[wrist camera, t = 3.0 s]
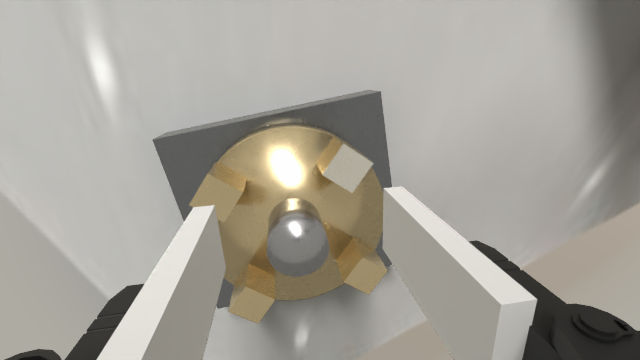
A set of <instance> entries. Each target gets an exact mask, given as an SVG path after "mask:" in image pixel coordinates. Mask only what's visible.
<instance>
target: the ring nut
mask: <svg viewBox="0 0 640 360" xmlns="http://www.w3.org/2000/svg"><path fill="white" fill-rule="evenodd" d="M373 164H374V163H373V162H371V161H370V160H369V159H368V158H367V157H365V156H364V155H363V154H362V153H361V152H359V151H358V150H356V149H355V148H353V147H352V146H351V145H349V144H348V143H347V142H346V141H344V140H343V139H342V138H340V137H338V136H337V135H335V134H333V133H331V132H329V131H326V130H324V129H321V128H318V127H314V126H310V125H303V124H281V125H274V126H270V127H266V128H263V129H259V130H257V131H255V132H253V133H250V134H248V135H247V136H245V137H243V138H242V139H240V140H238V141H237V142H236V143H235V144H233V145H232V146H231V147H230V148H229V149H228V150H227V151H226V152H225V153H224V154H223V155H222V156H221V157H220V159H219V160H218V162H215V164H214V165H213V167H212V168H211V169H210V171H209V172H208V174H207V175H206V177H205V179H204V180H203V182H202V184H201V185H200V187H199V189H198V190H197V192H196V194H195V195H194V197H193V199H192V201H191V202H190V204H189V205H190V206H192V207H201V206H211V205H215V209H216V215H217V220H218V226H219V232H220V237H221V243H222V249H223V254H224V260H225V265H226V270H225V274H224V278H225V279H226V280H227V281H228V282H230V283H231V284H233V285H234V286H233V291H232V296H231V301H230V307H229V312H230V313H233V314H235V315H238V316H240V317H243V318H245V319H248V320H250V321H252V322H255V323H257V324H258V323H259V322H260V320H261V319H262V318H263V316H264V315H265V313H266V312H267V311H268V309H269V308H270V306H271V305H272V304H273V302H274V301H275V300H300V299H306V298H311V297H315V296H318V295H321V294H324V293H327V292H329V291H331V290H333V289H335V288H337V287H339V286H340V285H342V284H344V283H346V284H348V285H350V286H352V287H354V288H356V289H358V290H360V291H362V292H364V293H366V294H368V295H369V294H370V293H371V291H372V290H373V289H374V288H375V286H376V285H377V284H378V283H379V281H380V280H381V279H382V277H383V276H384V275H385V274H386V272H387V271H388V270H387V269H386V267H385V265H384V264H383V262H382V260H381V258H380V257H379V255H378V253H377V252H376V250H375V249H376V247H377V245H378V243H379V240H380V237H381V234H382V231H383V191H382V188H381V185H380V182H379V180H378V178H377V176H376V174H375V172H374V170H373V169H372V167H371V166H372V165H373Z"/></svg>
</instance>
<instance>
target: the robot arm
mask: <svg viewBox="0 0 640 360" xmlns="http://www.w3.org/2000/svg"><path fill="white" fill-rule="evenodd" d="M382 249H383V250H384V252H385V253H386V255H387V256H388V258H389V259H390V261H391V263H392V264H393V266H394V267H395V269H396V270H397V272H398V274H399V275H400V277H401V278H402V280H403V281H404V283H405V284H406V286H407V288H408V289H409V291H410V292H411V294H412V295H413V297H414V298H415V300H416V302H417V303H418V305H419V306H420V308H421V309H422V311H423V313H424V314H425V316H426V317H427V319H428V320H429V322H430V323H431V325H432V326H433V328H434V329H435V331H436V333H437V334H438V336H439V337H440V339H441V341H442V342H443V344H444V345H445V347H446V348H447V350H448V352H449V353H450V355H451V356H452V358H453V359H454V360H640V331H636V330H634V329H633V328H632V327H631V326H629V325H628V324H627V323H626V322H624V321H623V320H621V319H619V318H617V317H615V316H613V315H612V314H610V313H608V312H605V311H602V310H599V309H596V308H594V307H591V306H585V305H579V304H566V303H565V302H563V301H562V300H561V299H560V298H558V297H557V296H555V295H554V294H553V293H552V292H550V291H549V290H548V289H547V288H545V287H544V286H543V285H541V284H540V283H539V282H537V281H536V280H535V279H533V278H532V277H531V276H530V275H528V274H527V273H526V272H524V271H523V270H520V268H519V267H518V266H517V265H515V264H514V263H513V262H511V261H508V259H507V258H506V257H505V256H503V255H502V254H501V253H500V252H498V251H497V250H496V249H494V248H492V247H490V246H488V245H486V244H483V243H481V242H479V241H469V242H468V241H467V240H466V239H464V238H463V237H462V236H461V235H460V234H459V233H457V232H456V231H455V230H454V229H453V228H451V227H450V226H449V225H448V224H447V223H445V222H444V221H443V220H442V219H441V218H439V217H438V216H437V215H436V214H435V213H433V212H432V211H431V210H430V209H429V208H427V207H426V206H425V205H424V204H423V203H421V202H420V201H419V200H418V199H417V198H415V197H414V196H413V195H412V194H411V193H409V192H408V191H407V190H406V189H405V188H403V187H402V186H400V187H390V188H384V193H383V248H382ZM225 270H226V265H225V260H224V254H223V249H222V243H221V237H220V232H219V226H218V220H217V215H216V209H215V205H211V206H201V207H193V209H192V210H191V212H190V213H189V215H188V217H187V218H186V220H185V221H184V223H183V224H182V226H181V228H180V229H179V231H178V232H177V234H176V235H175V237H174V239H173V240H172V242H171V243H170V245H169V247H168V248H167V250H166V251H165V253H164V254H163V256H162V258H161V259H160V261H159V262H158V264H157V265H156V267H155V269H154V270H153V272H152V273H151V275H150V276H149V278H148V280H147V281H146V283H145V284H139V285H131V286H127V287H126V288H124V289H123V290H122V291H120V292H119V293H118V294H117V295H115V296H114V297H113V298H112V299H110V300H109V301H108V303H107V304H106V305H105V307H104V308H103V309H102V311H101V312H100V313H99V315H98V317H97V319H95V320H94V322H93V323H92V324H91V325H90V327H89V328H88V329H87V333H86V334H84V335H83V336H82V338H81V339H80V340H79V341H78V343H77V344H76V345H75V347H74V348H73V350H72V351H71V352H70V353H69V355H68V356H67V358H66V359H65V360H202V359H203V355H204V351H205V348H206V344H207V340H208V336H209V332H210V328H211V324H212V320H213V316H214V313H215V309H216V305H217V301H218V297H219V293H220V289H221V285H222V282H223V278H224V274H225ZM5 360H61V358H60V356H59V355H58V354H56V353H55V352H54V351H53V350H42V349H37V350H33V351H28V352H24V353H20V354H17V355H15V356H13V357H10V358H8V359H5Z"/></svg>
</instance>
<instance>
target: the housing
mask: <svg viewBox="0 0 640 360" xmlns="http://www.w3.org/2000/svg"><path fill="white" fill-rule="evenodd" d="M281 124H303V125H310V126H314V127H318V128H321V129H324V130H326V131H329V132H331V133H333V134H335V135H337V136H338V137H340V138H342V139H343V140H344V141H346V142H347V143H348V144H349V145H351V146H352V147H353V148H355V149H356V150H358V151H359V152H361V153H362V154H363V155H364V156H365V157H367V158H368V159H369V160H370V161H371V162H373V163H374V164H373V165H372V166H371V167H372V169H373V170H374V172H375V174H376V176H377V178H378V180H379V182H380V185H381V188H382V191H383V193H384V188H390V187H392V184H391V175H390V167H389V158H388V150H387V141H386V133H385V124H384V116H383V108H382V99H381V91H372V90H367V91H362V92H358V93H353V94H348V95H343V96H339V97H334V98H329V99H324V100H320V101H315V102H310V103H305V104H301V105H296V106H291V107H286V108H282V109H277V110H272V111H267V112H263V113H258V114H253V115H248V116H244V117H239V118H234V119H229V120H225V121H220V122H215V123H210V124H206V125H201V126H196V127H191V128H187V129H182V130H177V131H172V132H168V133H165V134H163V135H161V136H159V137H157V138H155V139H153V142H154V145H155V147H156V150H157V152H158V155H159V158H160V160H161V163H162V165H163V168H164V171H165V173H166V176H167V178H168V181H169V184H170V186H171V189H172V191H173V194H174V197H175V199H176V202H177V204H178V207H179V210H180V212H181V215H182V217H183V220H184V221H185V220H186V218H187V217H188V215H189V213H190V212H191V210H192V209H193V207H192V206H190V205H189V204H190V202H191V201H192V199H193V197H194V195H195V194H196V192H197V190H198V189H199V187H200V185H201V184H202V182H203V180H204V179H205V177H206V175H207V174H208V172H209V171H210V169H211V168H212V167H213V165H214V164H215V162H218V160H219V159H220V157H221V156H222V155H223V154H224V153H225V152H226V151H227V150H228V149H229V148H230V147H231V146H232V145H233V144H235V143H236V142H237V141H238V140H240V139H242V138H243V137H245V136H247V135H248V134H250V133H253V132H255V131H257V130H259V129H263V128H266V127H270V126H274V125H281ZM382 248H383V231H382V234H381V237H380V240H379V243H378V245H377V247H376V249H375V250H376V252H377V253H378V255H379V257H380V258H381V260H382V262H383V264H384V265H385V266H387V265H391V264H392V263H391V261H390V259H389V258H388V256H387V255H386V253H385V252H384V250H383V249H382ZM233 286H234V285H233V284H231V283H230V282H228V281H227V280H226V279H225V278H223V282H222V285H221V289H220V293H219V297H218V301H217V308H218V309H219V308H223V307H227V306H230V301H231V296H232V291H233Z"/></svg>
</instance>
